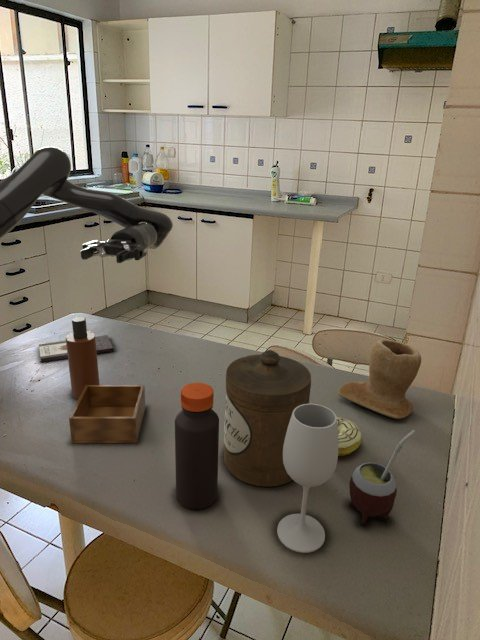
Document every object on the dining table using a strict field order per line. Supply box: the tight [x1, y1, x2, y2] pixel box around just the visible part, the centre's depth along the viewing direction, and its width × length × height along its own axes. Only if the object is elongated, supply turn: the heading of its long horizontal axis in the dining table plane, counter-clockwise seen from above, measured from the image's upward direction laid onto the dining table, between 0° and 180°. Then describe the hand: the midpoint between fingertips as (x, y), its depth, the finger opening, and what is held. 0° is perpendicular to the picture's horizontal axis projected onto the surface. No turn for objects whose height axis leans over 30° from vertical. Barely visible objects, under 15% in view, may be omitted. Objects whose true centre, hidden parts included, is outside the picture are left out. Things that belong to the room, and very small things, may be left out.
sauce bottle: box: [65, 316, 100, 400], centre depth 101 cm, size 6×6×18 cm
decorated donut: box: [336, 415, 362, 457], centre depth 90 cm, size 10×11×4 cm
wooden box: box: [68, 384, 146, 444], centre depth 93 cm, size 12×12×6 cm
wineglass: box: [276, 403, 339, 554], centre depth 66 cm, size 8×8×21 cm
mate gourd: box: [348, 429, 417, 527], centre depth 72 cm, size 8×8×15 cm
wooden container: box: [223, 349, 312, 488], centre depth 81 cm, size 15×15×22 cm
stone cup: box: [337, 339, 422, 420], centre depth 102 cm, size 15×12×15 cm
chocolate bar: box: [38, 334, 115, 363], centre depth 124 cm, size 9×1×18 cm
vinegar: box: [174, 382, 220, 510], centre depth 73 cm, size 7×7×20 cm
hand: (100, 256), depth 103 cm, fingers open, 8 cm apart
